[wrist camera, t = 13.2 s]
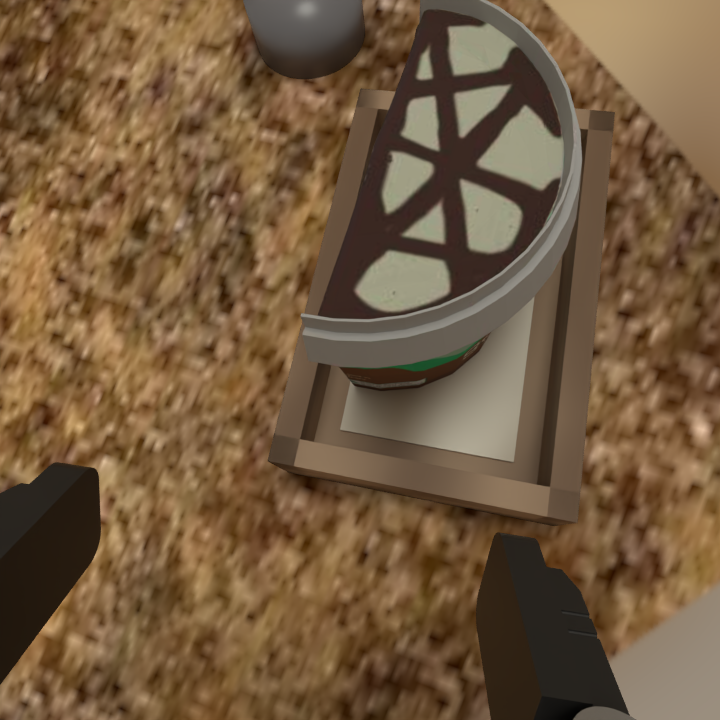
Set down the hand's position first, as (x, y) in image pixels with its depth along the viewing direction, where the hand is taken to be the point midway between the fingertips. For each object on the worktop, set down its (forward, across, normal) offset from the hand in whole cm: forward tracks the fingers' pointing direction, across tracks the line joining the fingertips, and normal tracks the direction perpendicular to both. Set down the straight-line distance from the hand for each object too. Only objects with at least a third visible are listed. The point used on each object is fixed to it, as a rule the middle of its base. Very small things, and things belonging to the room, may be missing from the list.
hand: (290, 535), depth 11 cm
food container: (+15, -4, -1) cm, 15 cm away
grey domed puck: (+26, +5, -12) cm, 30 cm away
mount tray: (+16, -4, -1) cm, 16 cm away
